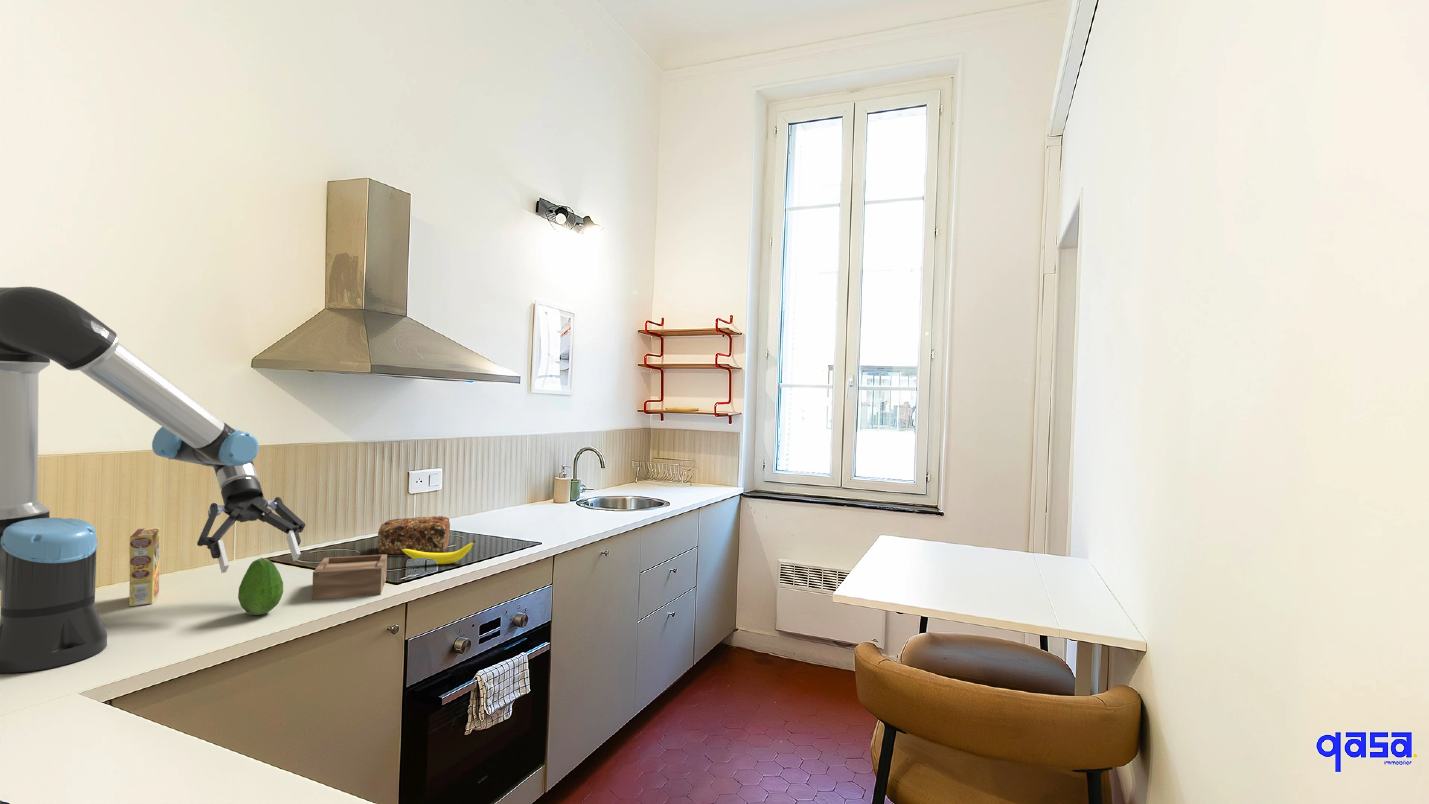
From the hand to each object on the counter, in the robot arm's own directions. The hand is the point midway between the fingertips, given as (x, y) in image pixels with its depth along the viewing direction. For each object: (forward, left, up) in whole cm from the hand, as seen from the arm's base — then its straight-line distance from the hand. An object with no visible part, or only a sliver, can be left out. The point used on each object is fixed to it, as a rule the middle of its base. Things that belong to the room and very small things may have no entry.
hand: (262, 563), depth 144 cm
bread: (+47, -28, -10) cm, 56 cm away
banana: (+28, -35, -10) cm, 46 cm away
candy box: (+12, +25, -10) cm, 29 cm away
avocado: (-5, -1, -10) cm, 11 cm away
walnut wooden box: (+10, -16, -10) cm, 21 cm away
